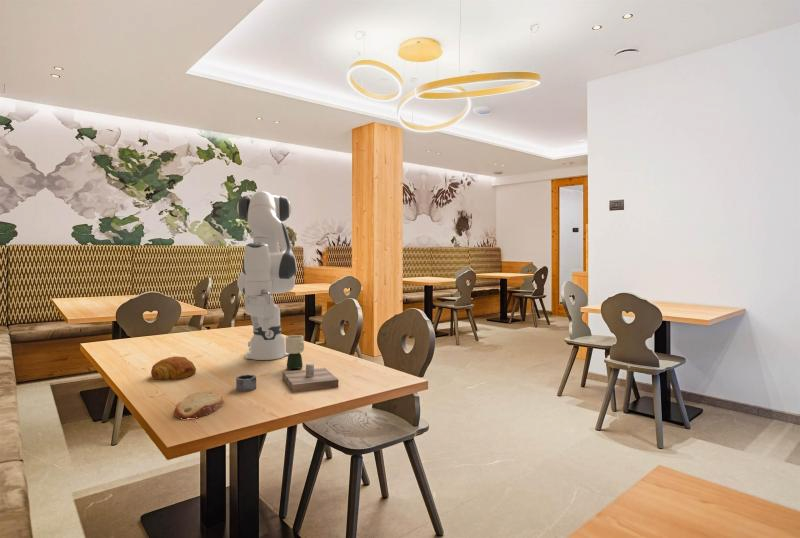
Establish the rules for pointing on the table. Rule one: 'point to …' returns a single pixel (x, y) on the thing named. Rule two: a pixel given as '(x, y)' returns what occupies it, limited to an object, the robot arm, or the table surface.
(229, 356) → the table surface
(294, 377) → the post stand
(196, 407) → the bread slice
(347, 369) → the table surface
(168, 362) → the croissant
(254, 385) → the steel ring
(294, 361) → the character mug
